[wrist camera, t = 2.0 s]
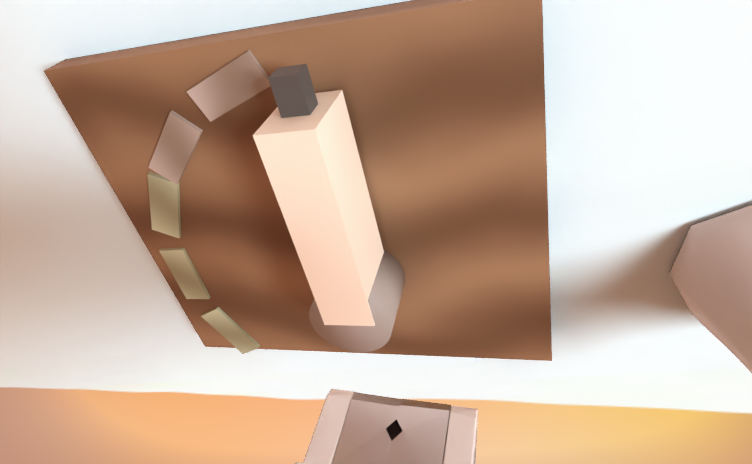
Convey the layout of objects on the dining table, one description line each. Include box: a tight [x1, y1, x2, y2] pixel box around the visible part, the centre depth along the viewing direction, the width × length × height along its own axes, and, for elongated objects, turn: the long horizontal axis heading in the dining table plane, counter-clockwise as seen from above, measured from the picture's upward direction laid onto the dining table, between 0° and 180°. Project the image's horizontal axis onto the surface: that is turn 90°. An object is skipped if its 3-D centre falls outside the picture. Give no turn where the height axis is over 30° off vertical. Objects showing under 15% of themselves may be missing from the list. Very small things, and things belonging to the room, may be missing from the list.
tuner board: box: [44, 0, 552, 361], centre depth 27 cm, size 19×22×2 cm
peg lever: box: [253, 64, 405, 352], centre depth 23 cm, size 14×4×4 cm, turn 12°
